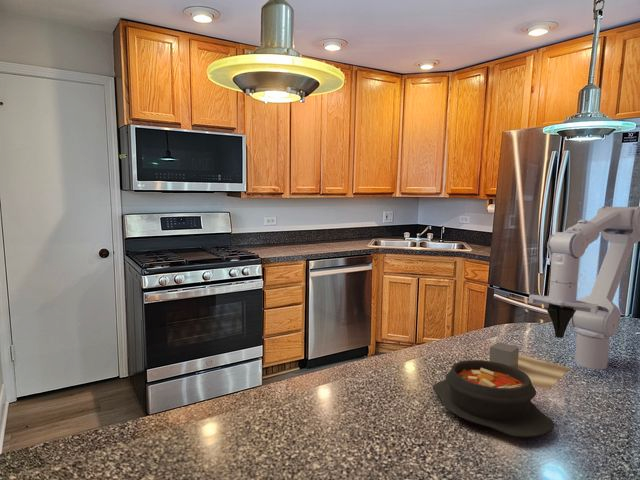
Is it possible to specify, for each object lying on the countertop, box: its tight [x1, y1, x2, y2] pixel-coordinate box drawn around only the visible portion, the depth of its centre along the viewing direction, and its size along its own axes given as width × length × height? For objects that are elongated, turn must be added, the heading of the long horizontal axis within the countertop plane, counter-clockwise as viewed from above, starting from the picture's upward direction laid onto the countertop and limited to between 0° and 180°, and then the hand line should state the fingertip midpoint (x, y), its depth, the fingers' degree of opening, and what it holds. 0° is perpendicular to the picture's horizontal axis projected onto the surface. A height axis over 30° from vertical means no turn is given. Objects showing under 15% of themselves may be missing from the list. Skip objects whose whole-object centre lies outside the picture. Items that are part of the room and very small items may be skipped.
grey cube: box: [488, 341, 520, 369], centre depth 106 cm, size 5×5×6 cm
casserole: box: [432, 359, 555, 438], centre depth 85 cm, size 25×19×8 cm
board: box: [487, 354, 571, 390], centre depth 107 cm, size 18×17×1 cm
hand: (559, 336), depth 102 cm, fingers closed
